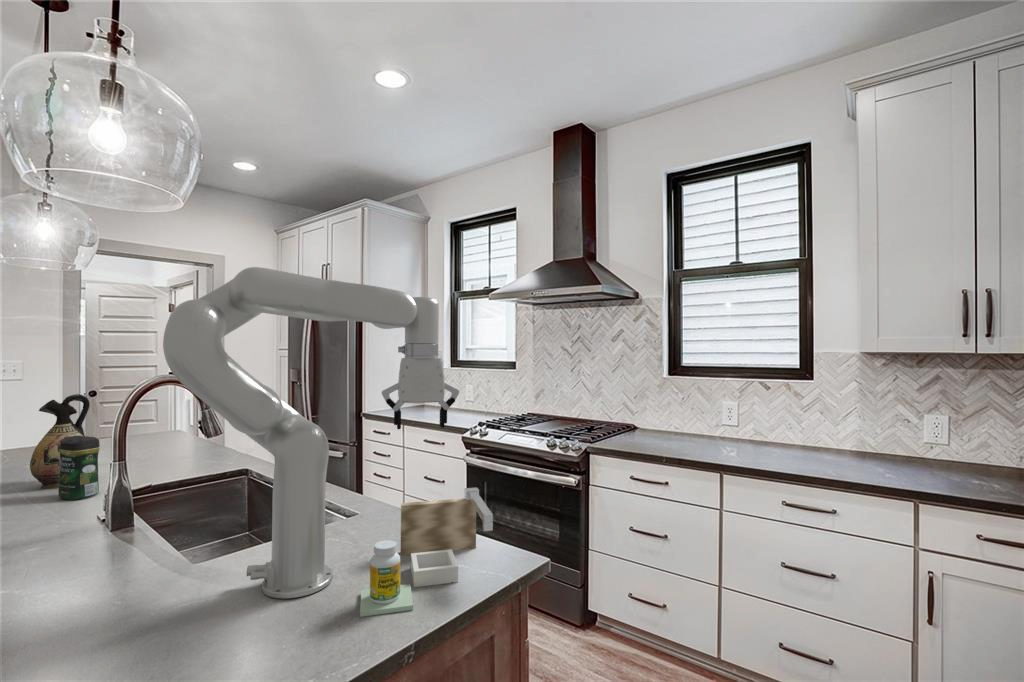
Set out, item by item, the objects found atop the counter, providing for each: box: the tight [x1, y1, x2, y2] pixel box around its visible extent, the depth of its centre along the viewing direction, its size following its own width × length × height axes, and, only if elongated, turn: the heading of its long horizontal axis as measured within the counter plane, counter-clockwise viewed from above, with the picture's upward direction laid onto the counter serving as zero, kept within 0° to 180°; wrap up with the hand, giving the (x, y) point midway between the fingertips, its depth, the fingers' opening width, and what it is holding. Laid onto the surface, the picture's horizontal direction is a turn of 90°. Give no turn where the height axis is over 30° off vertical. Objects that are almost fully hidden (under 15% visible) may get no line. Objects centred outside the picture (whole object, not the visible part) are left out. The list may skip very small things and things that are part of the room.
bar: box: [463, 487, 494, 532], centre depth 105 cm, size 3×19×3 cm, turn 16°
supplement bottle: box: [369, 539, 401, 604], centre depth 88 cm, size 5×5×10 cm
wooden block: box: [399, 497, 477, 557], centre depth 111 cm, size 17×2×11 cm, turn 106°
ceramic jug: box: [29, 393, 91, 490], centre depth 161 cm, size 17×15×30 cm
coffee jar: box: [58, 435, 101, 501], centre depth 148 cm, size 10×8×19 cm
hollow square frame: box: [410, 549, 459, 588], centre depth 99 cm, size 9×9×3 cm
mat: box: [359, 583, 414, 618], centre depth 88 cm, size 9×8×1 cm
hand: (420, 427), depth 109 cm, fingers open, 9 cm apart
